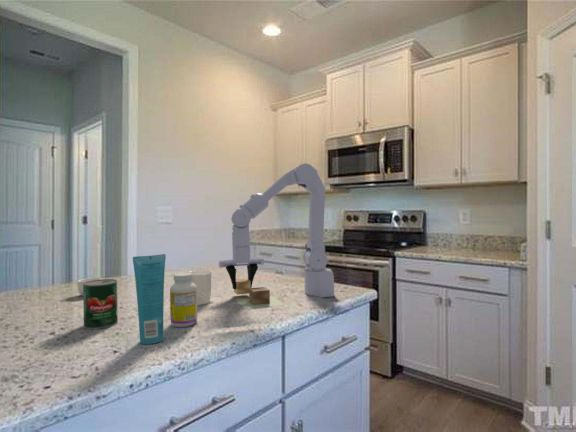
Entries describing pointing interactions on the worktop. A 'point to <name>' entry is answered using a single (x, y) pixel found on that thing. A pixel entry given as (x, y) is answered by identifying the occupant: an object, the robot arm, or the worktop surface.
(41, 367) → the worktop surface
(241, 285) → the oak block
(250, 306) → the build board
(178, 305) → the supplement bottle
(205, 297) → the white cup
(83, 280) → the teacup
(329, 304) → the worktop surface
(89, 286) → the canned tomato
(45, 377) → the worktop surface
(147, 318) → the tube
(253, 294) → the walnut block
